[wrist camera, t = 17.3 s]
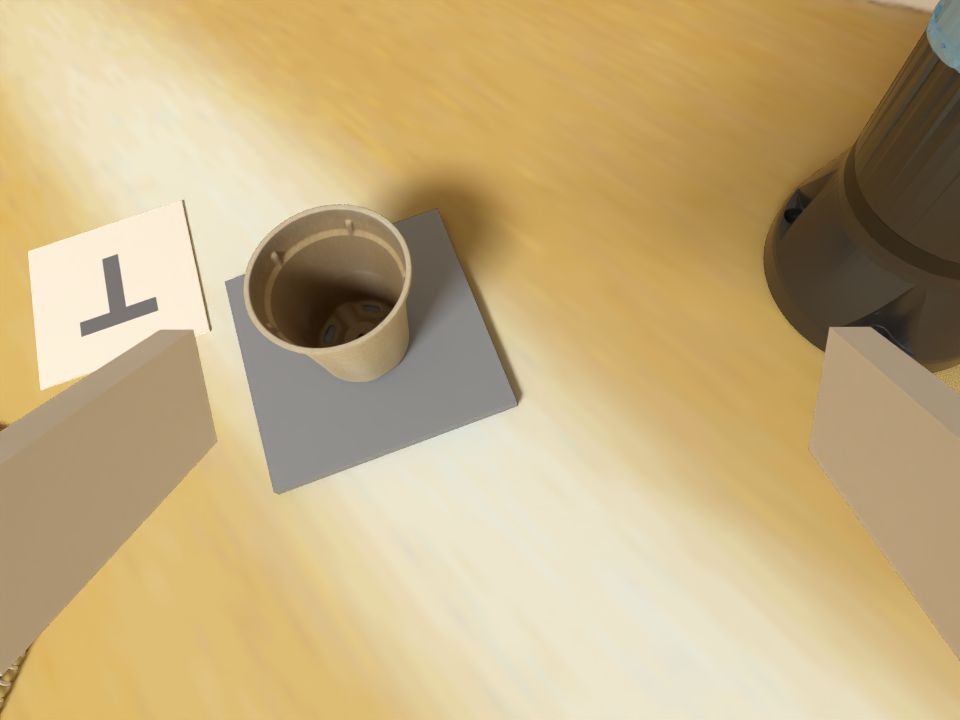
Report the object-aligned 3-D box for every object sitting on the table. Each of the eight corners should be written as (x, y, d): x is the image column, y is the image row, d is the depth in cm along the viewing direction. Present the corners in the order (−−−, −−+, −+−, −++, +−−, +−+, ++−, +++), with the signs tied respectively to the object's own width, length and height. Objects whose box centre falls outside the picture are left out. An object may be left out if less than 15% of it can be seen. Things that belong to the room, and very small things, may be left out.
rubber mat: (438, 214, 49) (437, 208, 48) (517, 406, 43) (516, 401, 42) (229, 287, 48) (224, 281, 47) (278, 494, 42) (273, 491, 41)
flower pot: (287, 295, 46) (235, 224, 38) (418, 264, 46) (395, 187, 38) (303, 421, 43) (250, 371, 35) (446, 386, 43) (426, 329, 35)
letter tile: (182, 201, 51) (181, 199, 51) (210, 331, 47) (209, 330, 46) (29, 252, 51) (27, 251, 50) (41, 390, 46) (40, 389, 46)
